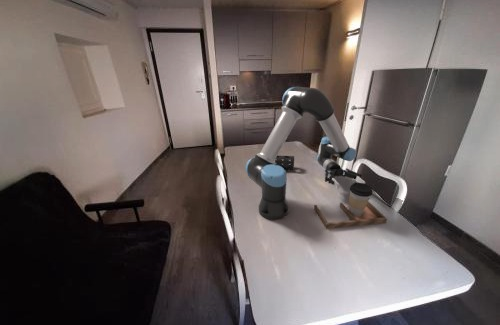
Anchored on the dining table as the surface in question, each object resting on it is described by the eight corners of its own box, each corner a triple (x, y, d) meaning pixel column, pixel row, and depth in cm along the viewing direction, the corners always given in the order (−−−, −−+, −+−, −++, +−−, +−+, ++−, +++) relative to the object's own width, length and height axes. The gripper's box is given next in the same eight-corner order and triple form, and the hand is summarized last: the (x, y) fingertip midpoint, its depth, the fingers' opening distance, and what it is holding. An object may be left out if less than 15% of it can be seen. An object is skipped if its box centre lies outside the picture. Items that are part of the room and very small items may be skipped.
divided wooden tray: (325, 228, 88) (326, 224, 87) (313, 209, 101) (314, 205, 100) (385, 223, 90) (387, 218, 89) (366, 204, 102) (367, 200, 101)
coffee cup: (346, 204, 102) (352, 179, 96) (367, 211, 97) (374, 185, 91) (342, 215, 95) (348, 188, 89) (364, 222, 90) (372, 195, 84)
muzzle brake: (293, 172, 139) (294, 158, 134) (254, 170, 144) (253, 157, 140) (293, 166, 147) (294, 153, 143) (256, 164, 152) (256, 152, 148)
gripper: (350, 171, 121) (373, 189, 102) (311, 174, 120) (326, 193, 100) (353, 160, 118) (376, 177, 99) (312, 163, 116) (328, 180, 97)
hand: (351, 185), depth 99 cm, fingers open, 13 cm apart
